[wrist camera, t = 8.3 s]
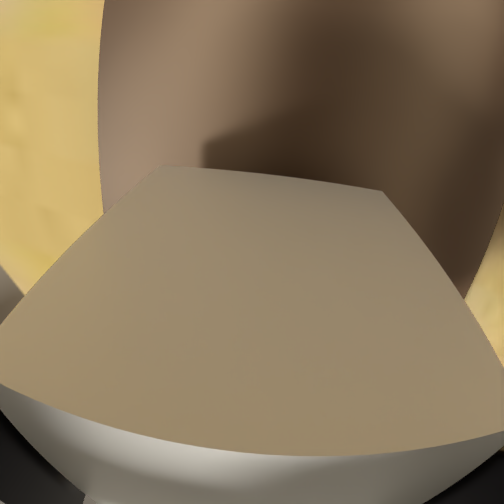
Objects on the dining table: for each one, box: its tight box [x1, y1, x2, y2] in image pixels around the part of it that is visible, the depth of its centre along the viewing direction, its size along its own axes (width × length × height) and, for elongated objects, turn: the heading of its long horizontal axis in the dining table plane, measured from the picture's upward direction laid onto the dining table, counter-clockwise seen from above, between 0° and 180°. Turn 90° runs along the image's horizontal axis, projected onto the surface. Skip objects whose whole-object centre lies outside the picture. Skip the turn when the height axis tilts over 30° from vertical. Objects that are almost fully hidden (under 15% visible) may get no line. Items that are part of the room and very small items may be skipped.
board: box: [98, 0, 504, 299], centre depth 8 cm, size 14×19×2 cm
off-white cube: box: [0, 165, 504, 504], centre depth 7 cm, size 6×6×7 cm
